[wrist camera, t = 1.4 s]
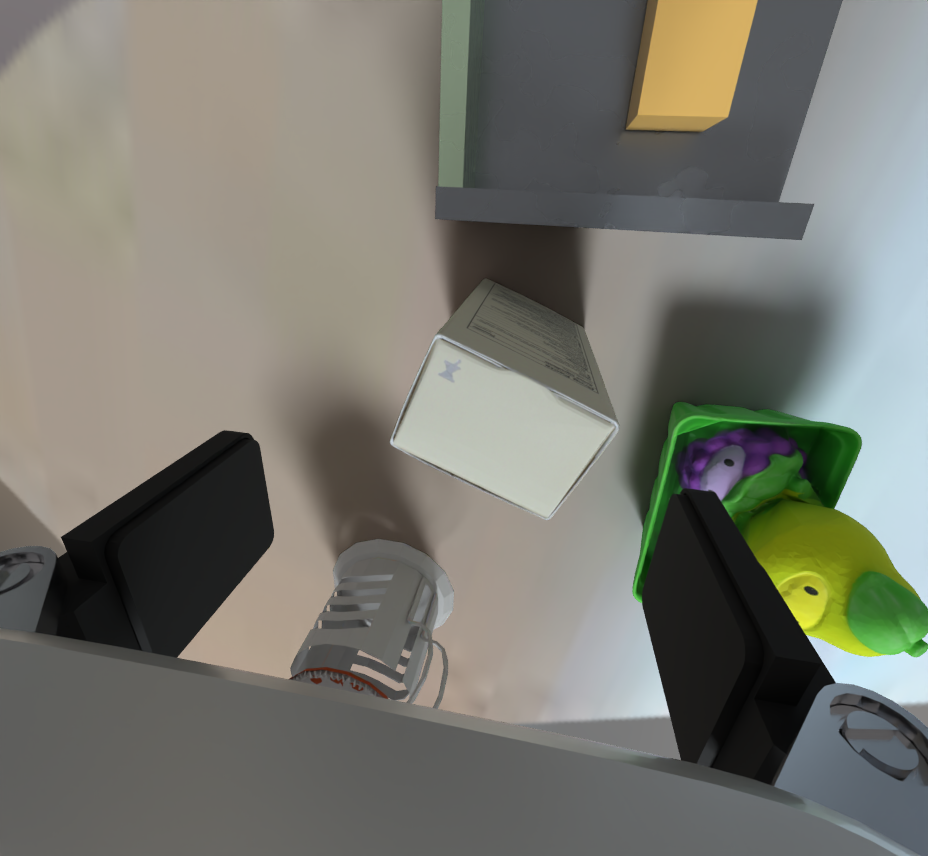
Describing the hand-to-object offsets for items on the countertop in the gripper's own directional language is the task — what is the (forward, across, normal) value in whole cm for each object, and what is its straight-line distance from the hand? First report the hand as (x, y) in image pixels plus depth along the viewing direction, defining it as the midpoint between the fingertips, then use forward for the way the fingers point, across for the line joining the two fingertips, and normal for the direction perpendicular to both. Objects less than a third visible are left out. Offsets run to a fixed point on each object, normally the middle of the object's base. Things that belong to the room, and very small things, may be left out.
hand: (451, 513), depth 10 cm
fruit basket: (+16, -13, +7) cm, 22 cm away
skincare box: (+16, -1, 0) cm, 17 cm away
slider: (+14, -6, -12) cm, 20 cm away
